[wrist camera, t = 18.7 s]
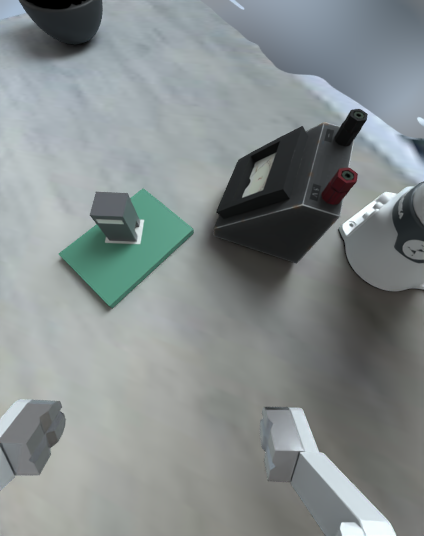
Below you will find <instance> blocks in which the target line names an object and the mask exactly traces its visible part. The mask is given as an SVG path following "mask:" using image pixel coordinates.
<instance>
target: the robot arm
mask: <svg viewBox="0 0 424 536" xmlns="http://www.w3.org/2000/svg"><path fill="white" fill-rule="evenodd" d="M349 225H350V226H351V227H350V226H349ZM339 231H340V233H341V235H342V237H343V239H344V241H345V249H346V255H347V258H348V261H349V263H350V265H351V266H352V268H353V269H354V271H355V272H356V273H357V274H358V275H359V276H360V277H361V278H362V279H363V280H365V281H366V282H368V283H369V284H371V285H373V286H375V287H377V288H380V289H383V290H387V291H402V290H406V289H410V288H416V289H423V290H424V182H421V183H419V184H418V185H416V186H414V187H406V188H404V189H403V190H402V191H401V192H400V193H398V194H395V193H390V192H384V193H383V194H382V195H380V196H379V197H378V198H376V199H375V200H374V201H372V202H371V203H370V204H369V205H367V206H366V207H365V208H363V209H362V210H361V211H359V212H358V213H357V214H355V215H354V216H353V217H351V218H350V219H349V220H348V221H346V222H345V223H344V224H342V225H341V226H340V228H339ZM61 408H62V405H61V402H60V401H47V400H28V399H19V400H17V401H16V402H14V403H13V404H12V406H11V407H10V408H9V409H8V410H7V412H6V413H5V414H4V415H3V416H2V417H1V419H0V491H1V490H2V489H3V488H4V487H5V486H6V485H7V484H8V483H9V482H10V481H11V480H12V479H13V478H15V475H40V473H41V471H42V470H43V468H44V466H45V464H46V463H47V461H48V459H49V457H50V455H51V447H52V446H54V445H55V444H56V443H57V442H58V441H59V439H60V437H61V436H62V434H63V431H64V428H65V421H66V419H65V415H64V414H63V413H62V412H61V411H60V409H61ZM262 415H263V419H262V420H261V421H260V440H261V446H262V448H263V450H264V451H265V452H266V453H265V458H264V463H265V468H266V474H267V479H268V481H276V482H291V485H292V486H293V488H294V489H295V491H296V492H297V494H298V495H299V497H300V498H301V500H302V501H303V503H304V504H305V506H306V507H307V509H308V510H309V512H310V513H311V515H312V516H313V518H314V519H315V521H316V522H317V524H318V525H319V527H320V528H321V530H322V531H323V533H324V534H325V536H396V534H395V532H394V530H393V528H392V526H391V524H390V522H389V521H388V520H387V519H386V518H385V517H384V516H383V515H382V514H381V513H380V512H379V511H378V509H377V508H376V507H375V506H374V505H373V504H372V503H371V502H370V501H369V500H368V499H367V498H366V497H365V496H364V495H363V494H362V493H361V492H360V491H359V490H358V489H357V487H356V486H355V485H354V484H353V483H352V482H351V481H350V480H349V479H348V478H347V477H346V476H345V475H344V474H343V473H342V472H341V471H340V470H339V469H338V468H337V467H336V466H335V464H334V463H333V462H332V461H331V460H330V459H329V458H328V457H327V456H326V455H325V454H324V453H321V452H319V450H318V448H317V445H316V443H315V440H314V437H313V435H312V432H311V429H310V427H309V424H308V422H307V419H306V416H305V414H304V411H303V410H302V408H288V407H264V408H263V410H262Z"/></svg>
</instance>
